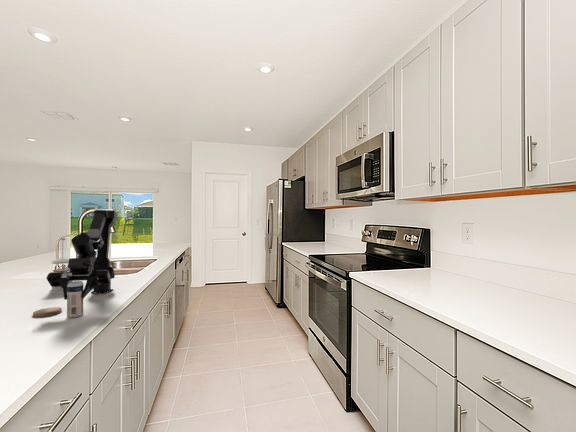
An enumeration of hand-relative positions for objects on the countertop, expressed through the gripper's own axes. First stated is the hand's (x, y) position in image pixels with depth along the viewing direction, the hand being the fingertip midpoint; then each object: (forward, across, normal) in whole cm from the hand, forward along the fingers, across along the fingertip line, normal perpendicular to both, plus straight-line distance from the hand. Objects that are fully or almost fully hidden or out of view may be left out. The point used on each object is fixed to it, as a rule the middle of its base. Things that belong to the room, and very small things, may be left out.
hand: (73, 298), depth 100 cm
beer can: (+4, 0, +6) cm, 7 cm away
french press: (-26, -19, +35) cm, 48 cm away
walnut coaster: (-1, -10, +10) cm, 14 cm away
